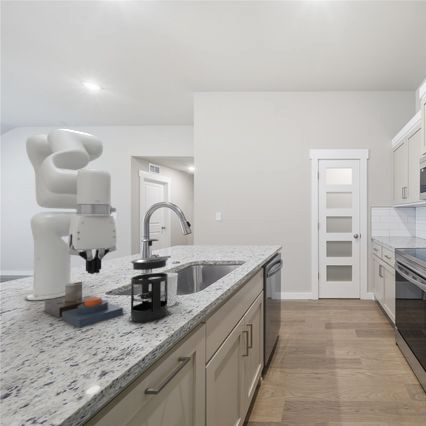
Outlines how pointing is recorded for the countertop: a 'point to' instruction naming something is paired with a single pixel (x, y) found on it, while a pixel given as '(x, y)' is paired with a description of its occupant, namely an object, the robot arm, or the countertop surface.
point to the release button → (93, 301)
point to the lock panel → (64, 305)
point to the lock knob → (73, 291)
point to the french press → (149, 290)
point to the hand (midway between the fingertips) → (93, 272)
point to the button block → (92, 314)
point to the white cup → (170, 288)
